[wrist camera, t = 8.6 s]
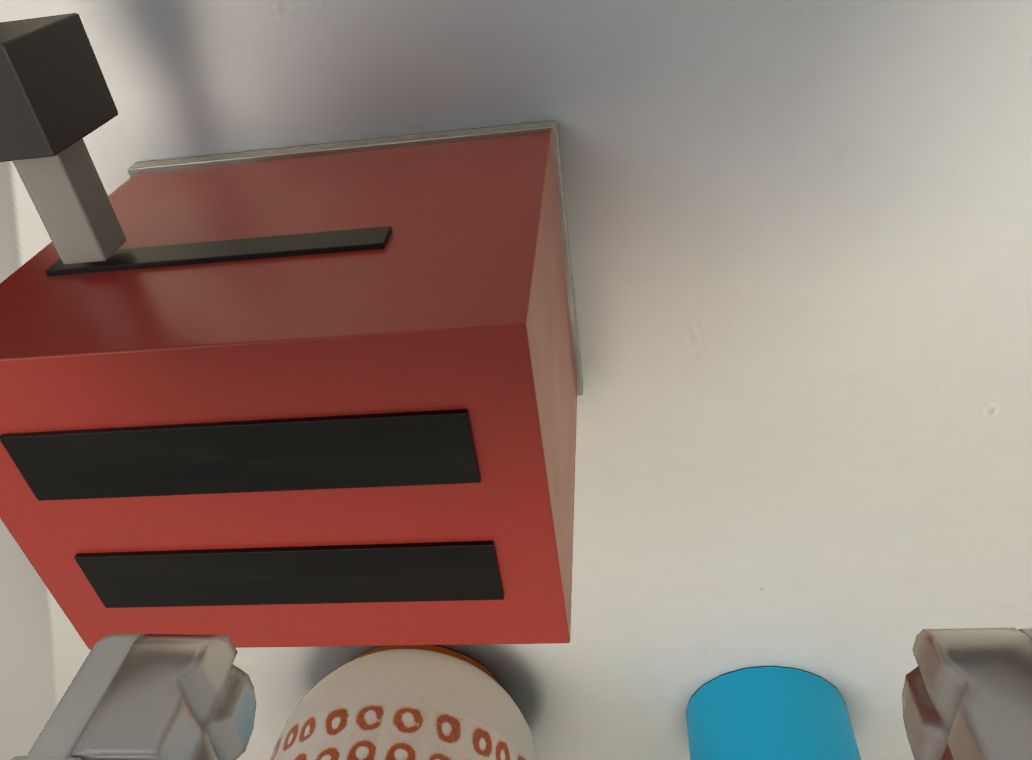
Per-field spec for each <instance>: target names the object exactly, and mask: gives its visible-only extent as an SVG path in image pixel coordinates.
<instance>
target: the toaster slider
mask: <svg viewBox="0 0 1032 760" xmlns="http://www.w3.org/2000/svg"><path fill="white" fill-rule="evenodd" d="M117 115H118V111H117V109H116V106H115V104H114V101H113V99H112V96H111V94H110V91H109V89H108V86H107V84H106V81H105V79H104V77H103V74H102V72H101V69H100V67H99V64H98V62H97V59H96V57H95V54H94V52H93V49H92V47H91V44H90V42H89V39H88V37H87V34H86V32H85V29H84V27H83V24H82V22H81V19H80V17H79V15H78V14H76V13H72V14H64V15H57V16H49V17H41V18H33V19H26V20H18V21H10V22H3V23H0V162H4V161H13V163H14V165H15V167H16V169H17V171H18V173H19V175H20V177H21V179H22V181H23V183H24V185H25V187H26V189H27V191H28V193H29V195H30V197H31V199H32V201H33V203H34V205H35V207H36V209H37V211H38V213H39V215H40V217H41V219H42V221H43V224H44V226H45V228H46V230H47V232H48V234H49V236H50V238H51V240H52V242H53V244H54V246H55V248H56V250H57V252H58V254H59V256H60V258H61V260H62V262H63V263H64V264H76V263H88V262H100V261H106V260H107V259H108V258H109V257H110V256H112V255H113V254H114V253H115V252H116V251H117V250H118V249H119V248H120V247H121V246H122V245H123V244H124V243H125V242H126V237H125V235H124V233H123V230H122V228H121V226H120V223H119V221H118V219H117V217H116V214H115V212H114V210H113V207H112V205H111V203H110V201H109V198H108V196H107V194H106V191H105V189H104V187H103V184H102V182H101V180H100V178H99V175H98V173H97V171H96V168H95V166H94V164H93V161H92V159H91V157H90V155H89V152H88V150H87V148H86V145H85V143H84V141H83V139H82V138H83V137H85V136H86V135H88V134H89V133H91V132H92V131H94V130H95V129H97V128H98V127H100V126H102V125H103V124H105V123H106V122H108V121H109V120H111V119H112V118H114V117H115V116H117Z"/></svg>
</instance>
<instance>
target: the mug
mask: <svg viewBox="0 0 1032 760" xmlns="http://www.w3.org/2000/svg"><path fill="white" fill-rule="evenodd" d="M686 718H687V728H688V737H689V747H690V757H691V760H861V758H860V755H859V751H858V747H857V744H856V740H855V737H854V733H853V730H852V726H851V722H850V719H849V715H848V712H847V708H846V705H845V701H844V699H843V698H842V696H841V695H840V693H839V692H838V690H837V689H836V687H834V686H833V685H831V684H830V683H828V682H827V681H825V680H824V679H822V678H821V677H819V676H816V675H813V674H810V673H807V672H804V671H801V670H798V669H791V668H782V667H773V666H770V667H758V668H746V669H742V670H738V671H735V672H731V673H728V674H724V675H721V676H719V677H718V678H716V679H714V680H712V681H710V682H708V683H707V684H705V685H703V686H702V687H701V688H700V689H699V690H698V691H697V692H696V693H695V694H694V695H693V696H692V698H691V699H690V702H689V705H688V708H687V711H686Z"/></svg>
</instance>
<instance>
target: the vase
mask: <svg viewBox="0 0 1032 760" xmlns="http://www.w3.org/2000/svg"><path fill="white" fill-rule="evenodd" d="M270 760H538V755H537V750H536V747H535V743H534V740H533V737H532V734H531V731H530V729H529V727H528V724H527V723H526V721H525V719H524V717H523V715H522V713H521V711H520V710H519V708H518V707H517V705H516V704H515V703H514V701H513V700H512V698H511V697H510V696H509V695H508V693H507V692H506V691H505V690H504V689H503V688H502V687H501V686H500V684H499V683H498V681H497V680H496V678H495V677H494V676H493V675H492V674H491V673H490V672H489V671H488V670H487V669H486V668H485V667H484V666H482V665H481V664H479V663H478V662H476V661H475V660H473V659H471V658H469V657H467V656H465V655H463V654H461V653H459V652H456V651H453V650H450V649H447V648H443V647H439V646H434V645H385V646H381V647H378V648H375V649H372V650H370V651H367V652H365V653H363V654H362V655H360V656H358V657H357V658H356V659H354V660H353V661H351V662H348V663H346V664H345V665H343V666H341V667H339V668H338V669H336V670H335V671H333V672H332V673H330V674H329V675H327V676H326V677H325V678H324V679H322V680H321V681H320V682H319V683H318V684H317V685H315V686H314V687H313V688H312V689H311V690H310V691H309V692H308V693H307V694H306V696H305V697H304V698H303V699H302V700H301V702H300V703H299V704H298V705H297V707H296V708H295V710H294V711H293V713H292V714H291V716H290V717H289V719H288V721H287V722H286V724H285V726H284V728H283V730H282V732H281V734H280V736H279V739H278V741H277V743H276V746H275V748H274V751H273V753H272V756H271V759H270Z"/></svg>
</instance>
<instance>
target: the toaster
mask: <svg viewBox="0 0 1032 760" xmlns="http://www.w3.org/2000/svg"><path fill="white" fill-rule="evenodd" d="M128 172H129V174H130V177H131V178H130V179H129V180H128V181H126V182H125V183H124V184H123V185H121V186H120V187H119V188H118V189H117V190H115V191H114V192H113V193H112V194H110V195H109V196H108V198H109V201H110V203H111V205H112V207H113V210H114V212H115V214H116V217H117V219H118V221H119V223H120V226H121V228H122V230H123V233H124V235H125V237H126V242H125V243H124V244H123V245H122V246H121V247H120V248H119V249H118V250H117V251H116V252H115V253H114V254H113V255H112V256H110V257H109V258H108V259H107V260H106V261H100V262H88V263H76V264H64V263H63V262H62V260H61V258H60V256H59V254H58V252H57V250H56V248H55V246H54V244H53V242H51V243H50V244H49V245H47V246H46V247H45V248H44V249H43V250H41V251H40V252H39V253H38V254H36V255H35V256H34V257H33V258H31V259H30V260H29V261H28V262H26V263H25V264H24V265H23V266H22V267H20V268H19V269H18V270H17V271H15V272H14V273H13V274H12V275H10V276H9V277H8V278H7V279H6V280H4V281H3V282H2V283H1V284H0V518H1V520H2V521H3V523H4V524H5V526H6V527H7V529H8V530H9V532H10V533H11V535H12V536H13V538H14V539H15V541H16V542H17V543H18V545H19V546H20V548H21V549H22V551H23V552H24V554H25V555H26V557H27V558H28V560H29V561H30V563H31V564H32V566H33V567H34V569H35V570H36V572H37V573H38V574H39V576H40V577H41V579H42V580H43V582H44V583H45V585H46V586H47V588H48V589H49V591H50V592H51V594H52V595H53V597H54V598H55V600H56V601H57V603H58V604H59V606H60V607H61V608H62V610H63V611H64V613H65V614H66V616H67V617H68V619H69V620H70V622H71V623H72V625H73V626H74V628H75V629H76V631H77V632H78V634H79V635H80V637H81V638H82V639H83V641H84V642H85V644H86V645H87V647H88V648H89V649H92V648H93V647H94V645H95V644H96V643H97V642H98V641H100V640H101V639H102V638H103V637H105V636H106V635H107V634H184V635H228V636H229V638H230V640H231V641H232V643H233V645H234V647H235V648H236V647H310V646H385V645H460V644H534V643H569V642H570V627H571V592H572V556H573V521H574V485H575V450H576V414H577V395H582V394H583V381H582V371H581V360H580V350H579V340H578V329H577V319H576V309H575V298H574V288H573V278H572V267H571V257H570V246H569V236H568V226H567V215H566V205H565V195H564V184H563V174H562V164H561V153H560V143H559V133H558V122H557V121H556V120H554V121H544V122H534V123H524V124H514V125H505V126H495V127H485V128H475V129H465V130H455V131H445V132H435V133H426V134H416V135H406V136H396V137H386V138H376V139H366V140H356V141H347V142H337V143H327V144H317V145H307V146H297V147H287V148H277V149H268V150H258V151H248V152H238V153H228V154H218V155H208V156H198V157H188V158H179V159H169V160H159V161H149V162H139V163H135V164H133V165H132V166H131V167H129V168H128Z"/></svg>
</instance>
